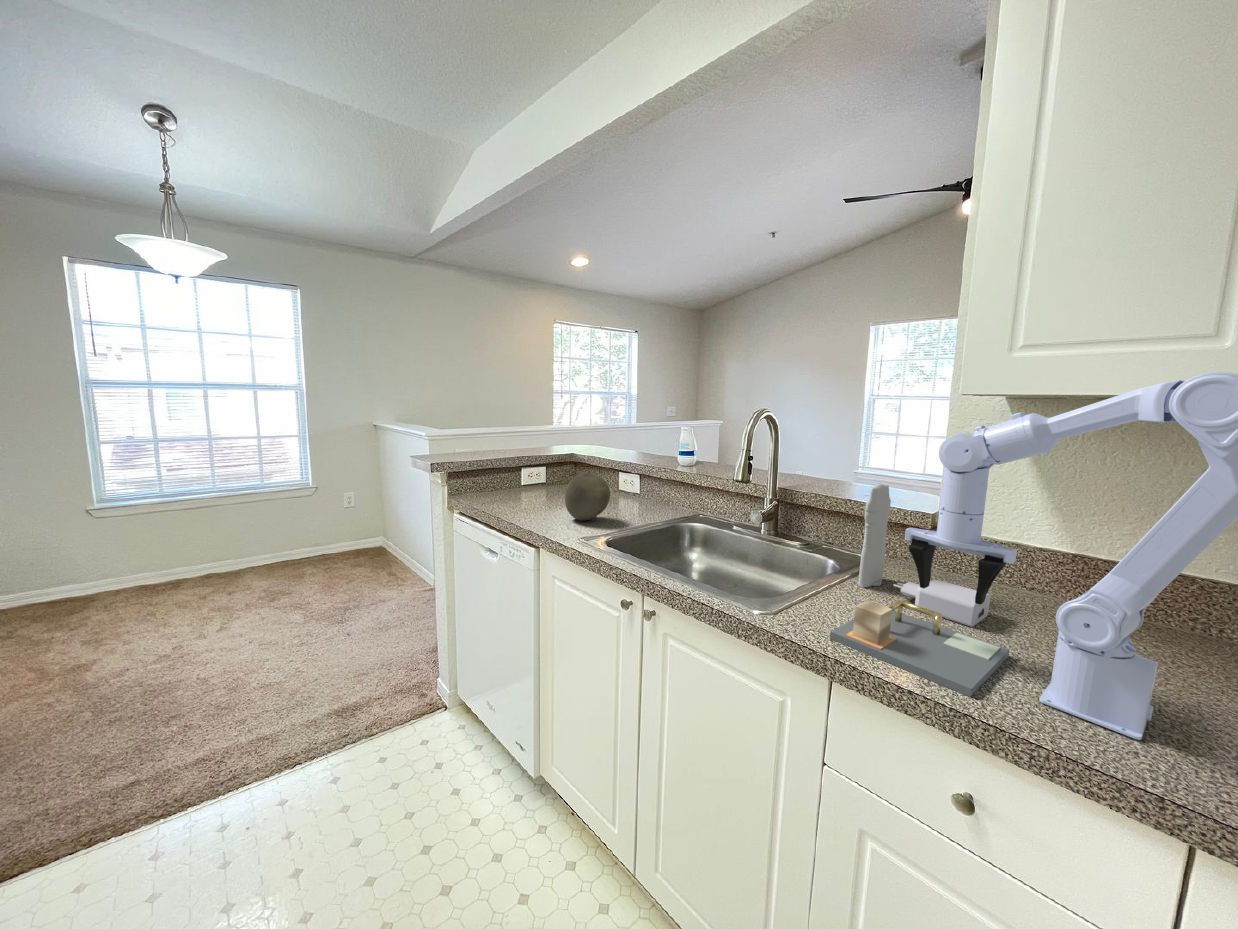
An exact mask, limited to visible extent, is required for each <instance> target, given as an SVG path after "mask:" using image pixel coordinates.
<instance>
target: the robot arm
mask: <svg viewBox="0 0 1238 929" xmlns="http://www.w3.org/2000/svg"><path fill="white" fill-rule="evenodd" d="M1010 418H1011V419H1008V420H1006V421H1003V422H999V423H996V424H993V425H990V426H987V427H986V426H985V425H978V426H976V427H974V433H966V432H957V433H954V435H951V436H949V437H947V438H946V439H945V440H944V441H942V443H941V445H940V447H939V450H938V458H939V460H940V463H941V464H942V465H943V467H944V468H943V475H942V482H941V491H940V500H939V506H938V507H939V510H938V511H939V512H938V517H937V527H936V530H930V529H923V528H916V527H908V528H906V529H905V530H904V531H905V532H904V540H905V541H908V542H911V543H910V544H909V545H908V551H909V552H910V555H911V557H912V559H913V562H914V564H915V566H916V571H917V575H918V581H919V584H920V588H924V589H925V588H926V587H928V586H929V584H930V581H931V576H932V574H931V573H932V564H933V559H934V554H935V550H936V547H941V548H943V549H949V550H953V551H958V552H962V553H966V554H971V555H975V556H980V557H983V558H980V559H979V560H978V563H977V565H978V566H977V568H978V575H977V576H978V577H977V578H978V580H977V588H976V590H977V591H976V596H975V603H976V604H980V605H981V604H982V603H983V602H984V601H985V598H986V595H987V594H989V593H988V592H989V591H990V588H991V586H992V585H993V582H994V581H995V579H996V578H997V577H998V575H999V574H1000V572H1002V570H1003V569H1004V567H1006V566H1007V564H1011V565H1012V564H1014V563H1015V562H1016V560H1017V554H1018V549H1017V548H1014V547H1010V546H1006V545H1001V544H999V543H994V542H990V541H989V540H988V541H987V540H984V539H982V531H983V523H984V518H985V517H984V515H985V508H986V500H987V494H988V484H989V483H988V481H989V472H990V469H991V468H992V467H993V466H995V465H1003V464H1007V463H1011V462H1014V461H1020V460H1022V459H1026V458H1030V457H1031V458H1032V457H1035V456H1039V455H1043V454H1047V453H1050V452H1052V450H1053V449H1054V448H1055V446H1056V445H1057V443H1058V442H1059V441H1060V440H1062V439H1067V438H1070V437H1071V438H1072V437H1074V436H1079V435H1082V434H1086V433H1087V434H1088V433H1091V432H1096V431H1099V430H1104V429H1107V428H1113V427H1117V426H1121V425H1125V424H1129V423H1133V422H1138V421H1142V422H1152V423H1178V424H1179V425H1180V426H1181V427H1182V428H1183V429H1184V430H1186V431H1187V432H1188V433H1189V434H1190V435H1192V436H1193V437H1194V439H1195V440H1196V441H1197V443H1198V445H1199V448H1200V449H1201V452H1202V453H1203V455H1204V458H1205V460H1206V462H1207V464H1208V468H1207V469H1206V471H1205V472H1204V473H1202V474H1201V476H1200V477H1198V479H1197V480H1196V481H1195V482H1194V483H1193V484H1191V486H1190V487H1189V488H1188V489H1187V490H1186V492H1184V494H1183V495H1182V496H1181V497H1180V498H1178V500H1177V501H1176V502H1175V503H1174V504H1173V505H1172V506H1171V507H1170V508H1169V510H1167V511H1166V513H1164V515H1163V516H1162V517H1161V518H1160V519H1159V520H1158V521H1157V522H1156V523H1155V524H1154V525H1152V527H1151V528H1150V529H1149V530H1148V531H1147V532H1146V534H1145V535H1143V537H1141V538H1140V540H1139V541H1138V542H1136V544H1135V545H1134V546H1133V547H1132V548H1131V549H1130V550H1129V551H1128V552H1127V553H1126V554H1125V556H1124V557H1122V559H1121V560H1120V561H1119V562H1118V563H1117V564H1116V565H1115V566H1114V567H1113V568H1112V569H1111V570H1110V571H1109V572H1108V573H1107V574H1106V575H1105V576H1103V577H1102V579H1100V580H1099V581H1098V582H1097V583H1095V585H1093V586H1092V587H1091V588H1090V589H1087V590H1086V591H1085V592H1083V593H1082V594H1081V595H1080V596H1078V597H1076V598H1075V599H1071V600H1068V601H1066V602H1064V603H1063V604H1061V605H1060V606H1059V608H1058V609H1057V611H1056V614H1055V622H1056V626H1057V628H1058V634H1057V642H1056V648H1055V651H1054V652H1055V654H1054V660H1053V665H1052V673H1051V679H1050V682H1049V684H1048V685H1047V686H1046V688H1045V690H1044V691H1043V692H1042V693H1041V695H1040V697H1039V702H1040V703H1042V704H1044V705H1046V706H1049V707H1052V708H1054V709H1056V710H1060V711H1062V712H1064V713H1068V714H1070V715H1073V716H1075V717H1078V718H1079V719H1083V720H1085V721H1088V722H1091V723H1093V724H1096V725H1097V726H1100V727H1103V728H1106V729H1109V730H1111V731H1114V732H1116V733H1118V734H1119V733H1120V735H1121V734H1122V735H1124V736H1127V737H1129V738H1132V739H1135V740H1137V741H1140V740H1141V741H1142V740H1143V735H1144V732H1145V728H1146V725H1147V722H1148V721H1149V722H1150V721H1152V717H1153V712H1154V706H1152V705H1151V704H1152V702H1151V701H1152V696H1153V692H1154V687H1155V681H1156V675H1157V671H1158V665H1159V664H1158V662H1157V661H1155V660H1152V659H1149V658H1146V657H1145V656H1142V655H1140V654H1138V653H1136V651H1137V648H1136V647H1135V646H1134V643H1133V641H1132V639H1131V638H1130V636H1129V635H1131V634H1132V633H1135V632H1136V631H1138V630H1140V628H1141V627H1142V625H1143V622H1144V617H1145V615H1144V614H1145V611H1146V609H1147V607H1148V606H1149V605H1150V604H1151V603H1152V602H1153V601H1154V600H1155V599H1156V598H1157V597H1158V596H1159V595H1160V593H1162V591H1163V590H1165V589H1166V588H1167V587H1168V585H1169V584H1171V582H1173V581H1174V580H1175V579H1176V578H1177V577H1178V576H1179V575H1181V573H1183V571H1184V570H1185V569H1186V568H1187V567H1188V566H1189V565H1191V563H1192V562H1193V561H1195V560H1196V559H1197V558H1198V557H1199V556H1200V555H1201V554H1202V553H1204V551H1205V550H1206V549H1207V548H1208V547H1209V546H1210V545H1212V543H1213V542H1214V541H1215V540H1216V539H1218V538H1219V537H1220V536H1221V535H1222V534H1223V533H1224V532H1225V531H1226V530H1227V529H1228V528H1229V527H1230V526H1231V525H1232V524H1233V523H1234V522H1236V520H1237V519H1238V373H1234V372H1226V371H1215V372H1214V371H1213V372H1207V373H1206V372H1205V373H1201V374H1198V375H1195V376H1193V377H1191V378H1189V379H1186V380H1182V379H1177V380H1171V381H1166V382H1162V383H1157V384H1153V385H1149V386H1145V387H1141V388H1137V389H1134V390H1131V391H1128V392H1125V393H1122V394H1118V395H1115V396H1112V397H1110V398H1106V399H1103V400H1101V401H1097V402H1094V403H1091V404H1087V405H1085V406H1081V407H1079V408H1076V409H1072V410H1070V411H1066V412H1063V413H1060V414H1058V415H1054V416H1052V417H1047V416H1045V415H1042V414H1039V413H1035V412H1032V413H1029V414H1026V412H1017V413H1014V414H1011V415H1010Z"/></svg>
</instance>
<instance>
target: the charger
mask: <svg viewBox="0 0 1238 929" xmlns="http://www.w3.org/2000/svg"><path fill="white" fill-rule="evenodd" d="M893 587H894V588H895V587H896V588H898V589H900V594H901V595H904V596H907V597H910V598H913V599H915V600H914V605H917V606H920V607H923V608H927V609H930V610H933V611H936V612H939V613H941V614H942V619H946V620H949V621H952V622H955V623H957V624H961V625H963V626H967V627H970V628H973V627H974V626H976V625H978V623H980V622H981V621H982V620H984V619H985V618H986V617H988V615H989V611H990V606H991V605H990V602H991V597H992V596H991V594H990V593H987V595H986V598H985V601H984V602H983V603H982V604H981V605H980V604H976V603H975V596H976V591H977V589H972V588H969V587H965V586H962V585H958V584H954V583H951V582H949V581H948V582H947V581H944V580H941V579H933V580H930V584H929V586H928V587H926V588H925V589H924V588H920V583H916V582H912V581H907V582H906V583H901V582H897V583H895V584H893Z"/></svg>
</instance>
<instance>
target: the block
mask: <svg viewBox="0 0 1238 929" xmlns="http://www.w3.org/2000/svg"><path fill="white" fill-rule="evenodd" d="M854 608H855V609H854V618H853V619H854V626H853V635H854V636H856V637H859V638H861V639H864V640H866V641H869V642H871V643H874V644H876V645H879V644H880V643H882V642H884V641H885V640H887V639H888V638H889V634H890V625H891V615H892V609H891V608H888V607H887V606H884V605H883V604H879V603H875V602H874V601H869V600H866V601H863V602H861V603H859V604H857V605H855V607H854Z"/></svg>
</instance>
